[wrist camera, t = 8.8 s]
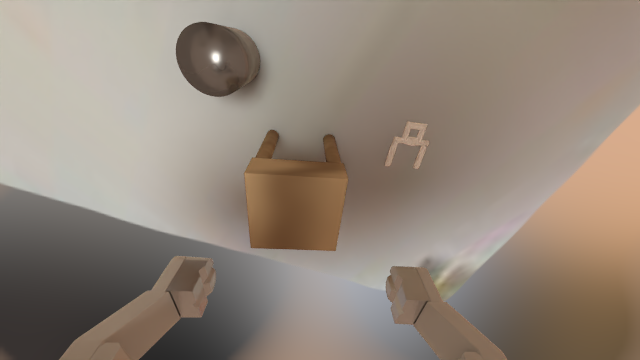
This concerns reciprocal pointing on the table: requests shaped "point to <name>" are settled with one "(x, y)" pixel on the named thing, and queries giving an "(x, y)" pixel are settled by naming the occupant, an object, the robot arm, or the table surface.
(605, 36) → the table surface
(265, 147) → the tan peg block
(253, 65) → the grey domed cylinder
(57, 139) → the table surface
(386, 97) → the table surface
